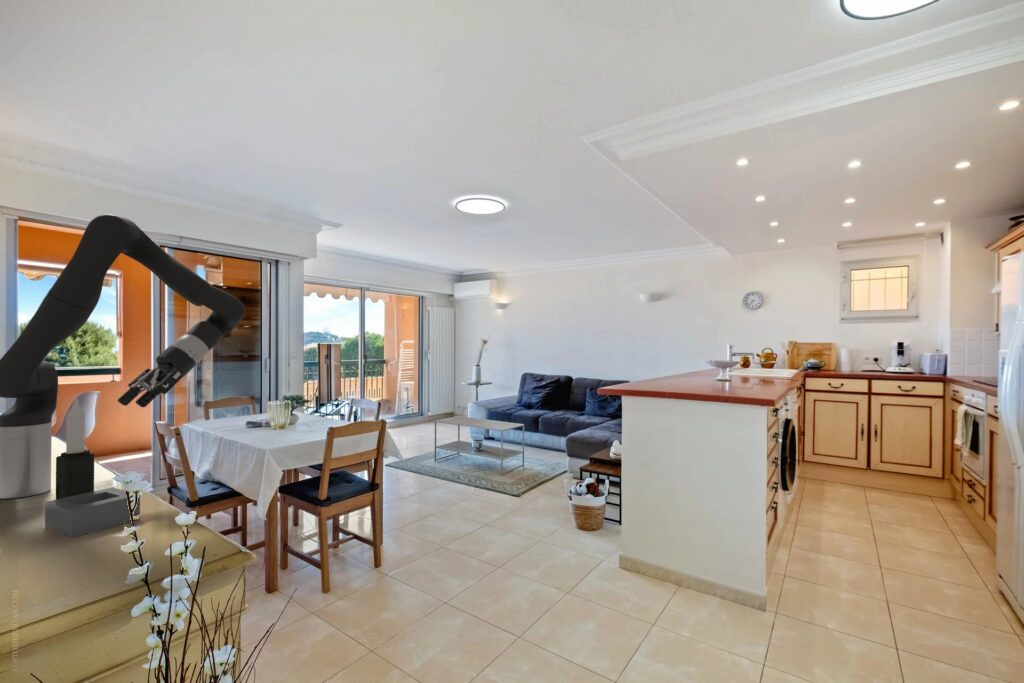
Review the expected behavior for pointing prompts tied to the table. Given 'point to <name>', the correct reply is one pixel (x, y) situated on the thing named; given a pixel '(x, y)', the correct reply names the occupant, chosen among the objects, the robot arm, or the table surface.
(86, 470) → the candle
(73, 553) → the table surface
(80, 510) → the holder
